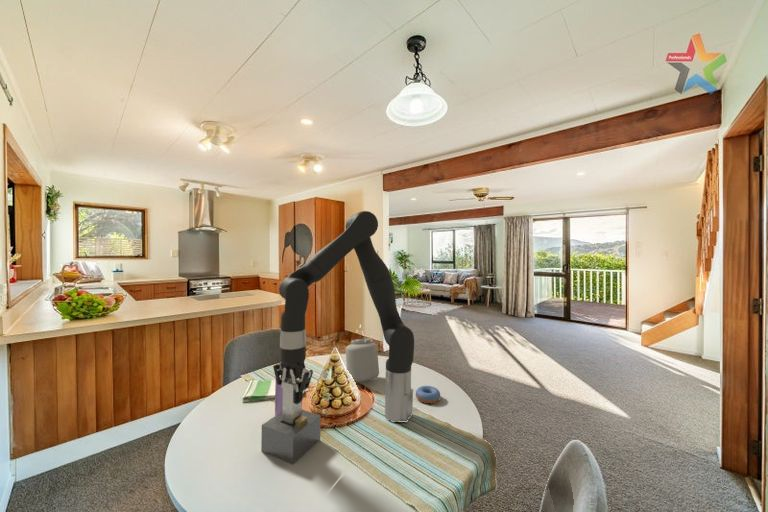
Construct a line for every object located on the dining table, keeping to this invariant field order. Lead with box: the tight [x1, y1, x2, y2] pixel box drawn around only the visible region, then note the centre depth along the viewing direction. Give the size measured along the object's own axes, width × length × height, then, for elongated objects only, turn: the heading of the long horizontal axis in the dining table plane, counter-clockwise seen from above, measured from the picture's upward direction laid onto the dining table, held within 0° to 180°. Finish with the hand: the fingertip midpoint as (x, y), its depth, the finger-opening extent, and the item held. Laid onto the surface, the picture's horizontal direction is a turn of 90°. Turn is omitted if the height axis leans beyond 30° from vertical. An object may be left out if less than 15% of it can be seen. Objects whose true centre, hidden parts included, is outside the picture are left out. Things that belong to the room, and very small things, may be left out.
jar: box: [345, 324, 380, 383], centre depth 138 cm, size 19×15×25 cm
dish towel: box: [241, 378, 305, 403], centre depth 125 cm, size 18×23×3 cm
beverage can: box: [274, 376, 283, 417], centre depth 106 cm, size 6×6×15 cm
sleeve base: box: [260, 409, 322, 466], centre depth 89 cm, size 12×12×9 cm
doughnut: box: [415, 385, 441, 404], centre depth 120 cm, size 10×10×5 cm
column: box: [282, 378, 303, 426], centre depth 89 cm, size 4×4×18 cm
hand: (292, 400), depth 89 cm, fingers closed on column, 4 cm apart
